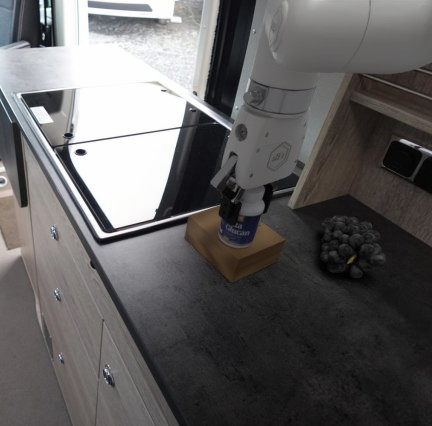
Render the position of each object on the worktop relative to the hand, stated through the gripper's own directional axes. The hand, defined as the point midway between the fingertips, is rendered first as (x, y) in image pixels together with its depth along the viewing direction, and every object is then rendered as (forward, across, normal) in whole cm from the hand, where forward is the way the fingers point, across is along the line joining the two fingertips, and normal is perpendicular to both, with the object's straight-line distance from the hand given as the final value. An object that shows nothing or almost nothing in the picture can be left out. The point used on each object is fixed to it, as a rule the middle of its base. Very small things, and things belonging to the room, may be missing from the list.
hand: (242, 213), depth 56 cm
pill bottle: (+5, 0, 0) cm, 5 cm away
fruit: (+10, +18, -8) cm, 22 cm away
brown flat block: (+10, +4, +3) cm, 11 cm away
